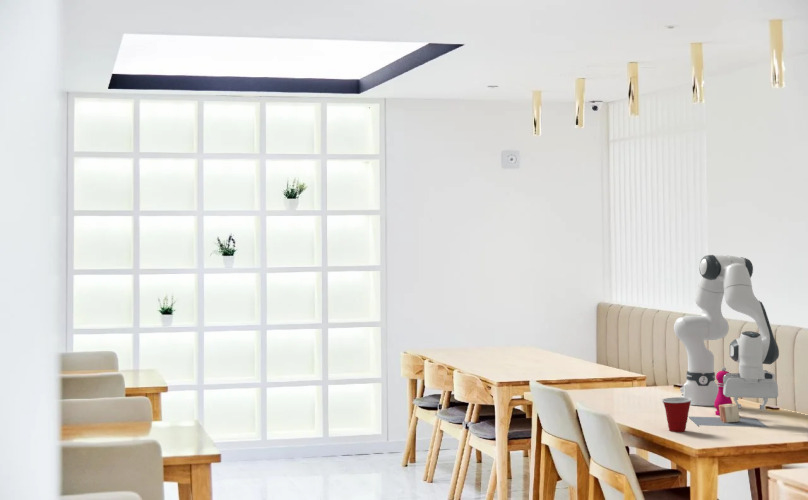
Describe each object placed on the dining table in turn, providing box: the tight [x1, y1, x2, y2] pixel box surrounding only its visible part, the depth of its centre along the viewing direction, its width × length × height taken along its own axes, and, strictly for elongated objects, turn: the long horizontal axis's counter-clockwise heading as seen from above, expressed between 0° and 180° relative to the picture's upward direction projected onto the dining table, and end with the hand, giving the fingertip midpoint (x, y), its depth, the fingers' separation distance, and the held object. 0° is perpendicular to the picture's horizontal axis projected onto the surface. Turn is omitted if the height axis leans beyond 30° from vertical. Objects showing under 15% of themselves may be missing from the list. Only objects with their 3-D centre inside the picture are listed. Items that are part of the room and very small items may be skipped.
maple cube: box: [719, 403, 741, 423], centre depth 375 cm, size 6×6×6 cm
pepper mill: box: [713, 366, 734, 417], centre depth 391 cm, size 7×7×20 cm
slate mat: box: [688, 416, 769, 428], centre depth 375 cm, size 20×26×1 cm
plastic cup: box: [661, 396, 692, 433], centre depth 356 cm, size 11×11×12 cm
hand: (750, 409), depth 374 cm, fingers open, 8 cm apart
